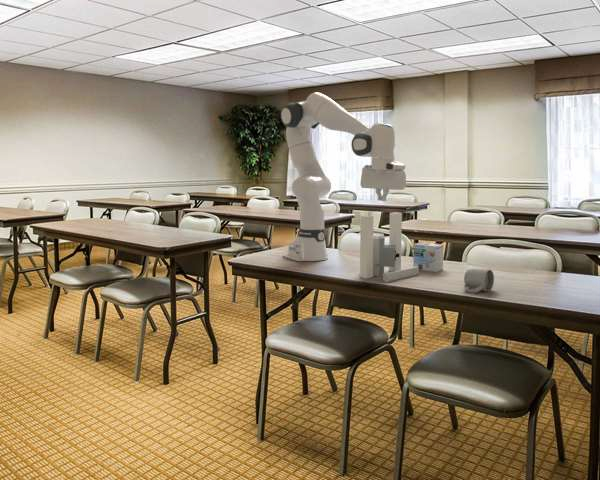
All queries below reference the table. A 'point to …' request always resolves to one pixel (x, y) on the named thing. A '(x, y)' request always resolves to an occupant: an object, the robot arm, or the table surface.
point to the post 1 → (366, 246)
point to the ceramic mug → (478, 280)
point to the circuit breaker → (382, 255)
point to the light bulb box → (428, 256)
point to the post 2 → (396, 237)
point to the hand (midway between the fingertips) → (381, 200)
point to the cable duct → (400, 273)
